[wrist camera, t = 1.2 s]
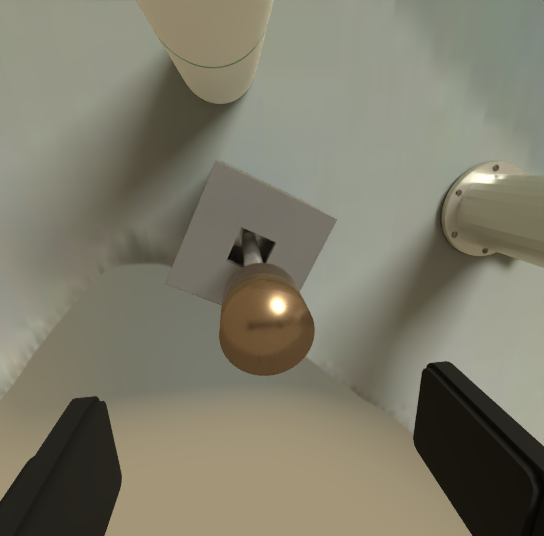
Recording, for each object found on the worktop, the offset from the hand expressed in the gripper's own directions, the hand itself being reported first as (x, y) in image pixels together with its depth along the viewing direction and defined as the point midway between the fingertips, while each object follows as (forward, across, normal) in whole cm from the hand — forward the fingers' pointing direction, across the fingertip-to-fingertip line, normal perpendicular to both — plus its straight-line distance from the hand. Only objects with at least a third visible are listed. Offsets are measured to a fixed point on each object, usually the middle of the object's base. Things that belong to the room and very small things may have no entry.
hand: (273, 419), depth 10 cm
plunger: (+25, -1, 0) cm, 25 cm away
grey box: (+34, -1, 0) cm, 34 cm away
